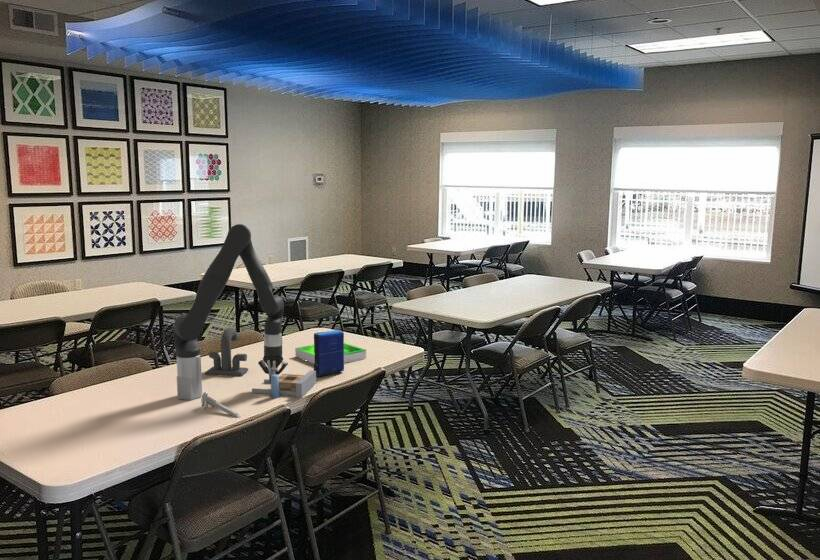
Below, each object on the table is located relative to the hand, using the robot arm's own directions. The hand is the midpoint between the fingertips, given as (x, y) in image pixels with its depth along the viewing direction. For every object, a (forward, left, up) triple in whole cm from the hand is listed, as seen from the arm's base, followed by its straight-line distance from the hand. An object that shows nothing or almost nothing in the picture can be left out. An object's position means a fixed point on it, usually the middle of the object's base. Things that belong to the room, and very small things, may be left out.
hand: (273, 383), depth 272 cm
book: (+24, -17, -2) cm, 29 cm away
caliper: (-30, +9, -3) cm, 32 cm away
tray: (+50, -10, -3) cm, 51 cm away
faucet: (+20, +29, -2) cm, 35 cm away
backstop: (0, -5, -2) cm, 5 cm away
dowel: (-10, -5, -2) cm, 12 cm away
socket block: (0, -8, -2) cm, 8 cm away
